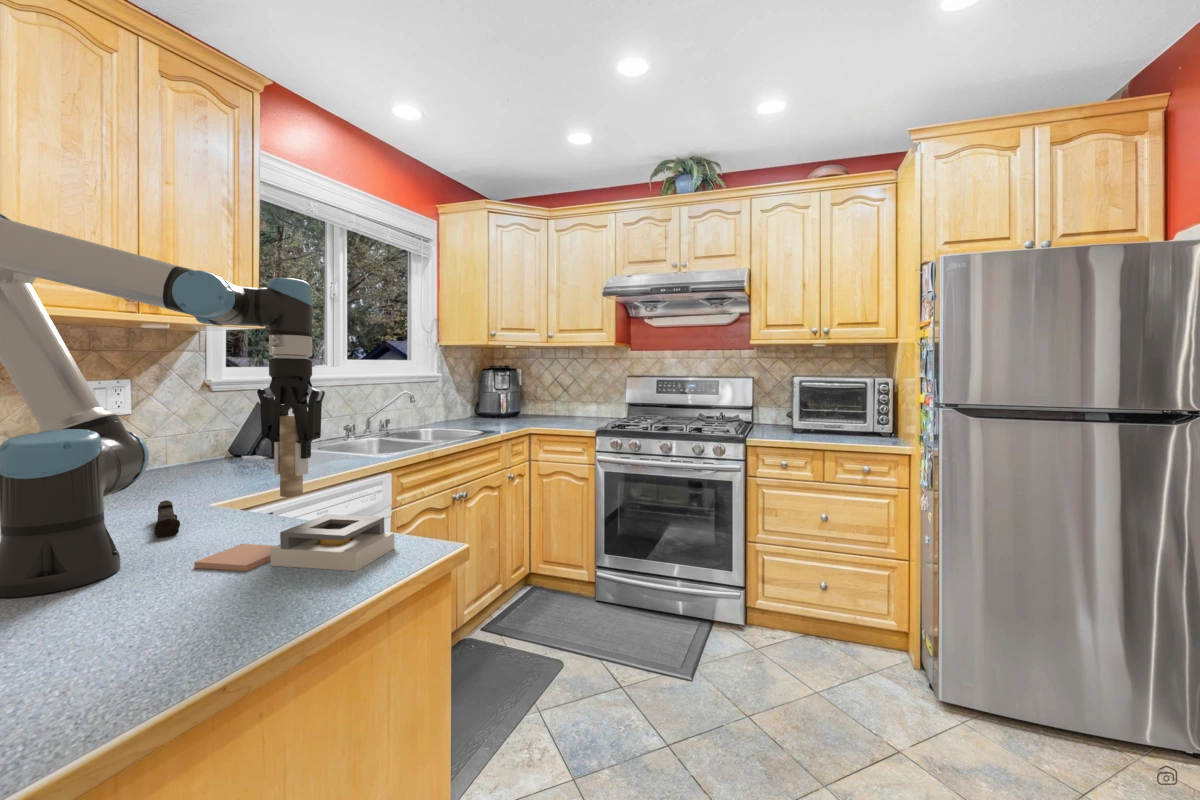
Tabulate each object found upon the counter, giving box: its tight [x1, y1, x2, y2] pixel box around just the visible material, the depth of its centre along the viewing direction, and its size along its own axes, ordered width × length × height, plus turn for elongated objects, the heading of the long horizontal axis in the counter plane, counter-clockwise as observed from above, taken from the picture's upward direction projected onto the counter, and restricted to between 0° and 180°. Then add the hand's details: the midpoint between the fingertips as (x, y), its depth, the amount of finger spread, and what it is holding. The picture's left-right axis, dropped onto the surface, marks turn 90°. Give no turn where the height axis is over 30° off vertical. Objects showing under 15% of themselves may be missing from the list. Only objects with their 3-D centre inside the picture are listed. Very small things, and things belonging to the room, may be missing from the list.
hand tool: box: [154, 500, 181, 539], centre depth 117 cm, size 19×4×5 cm, turn 37°
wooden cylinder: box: [279, 414, 304, 498], centre depth 109 cm, size 4×4×16 cm
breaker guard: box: [270, 513, 395, 572], centre depth 98 cm, size 16×12×6 cm
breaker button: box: [319, 528, 350, 546], centre depth 98 cm, size 5×5×3 cm
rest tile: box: [193, 543, 276, 572], centre depth 96 cm, size 10×10×1 cm
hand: (291, 473), depth 109 cm, fingers closed on wooden cylinder, 4 cm apart
